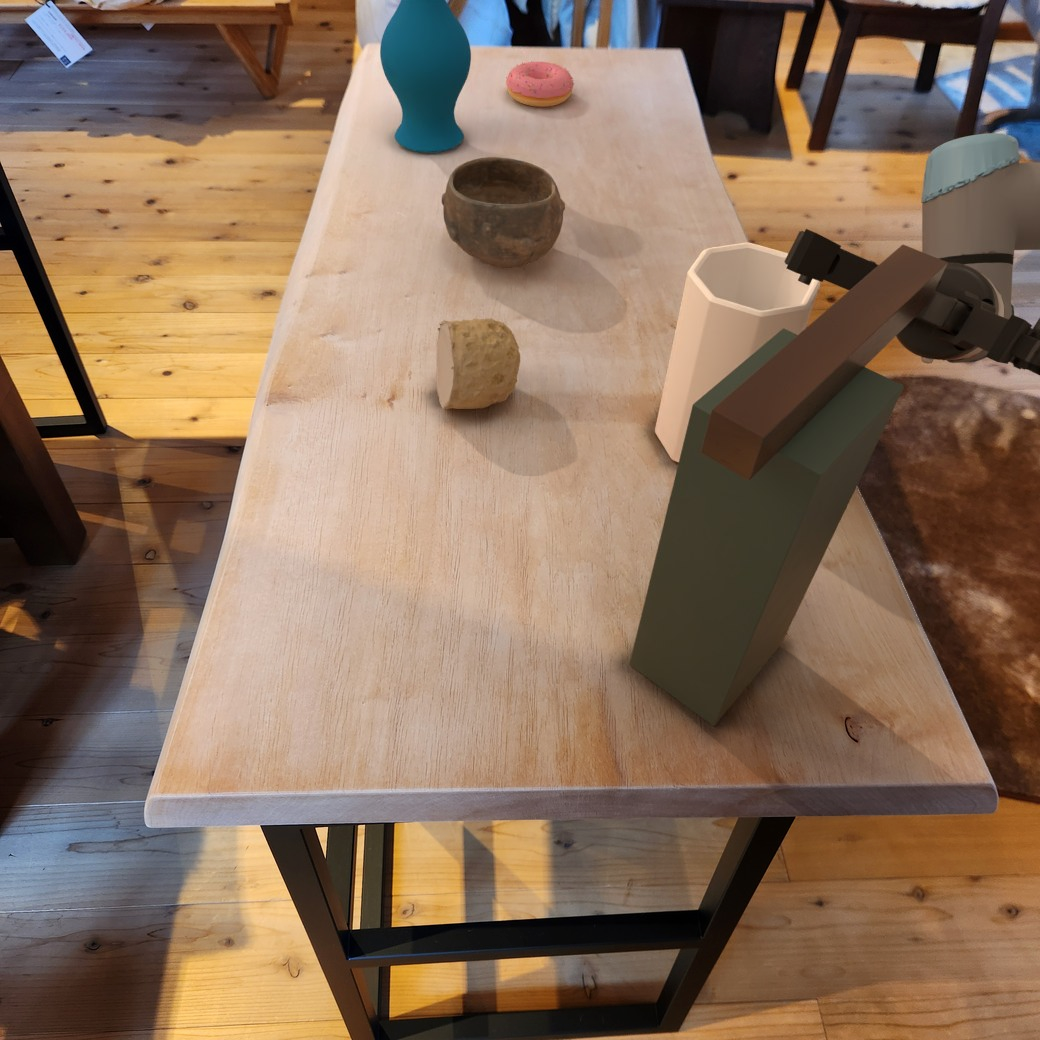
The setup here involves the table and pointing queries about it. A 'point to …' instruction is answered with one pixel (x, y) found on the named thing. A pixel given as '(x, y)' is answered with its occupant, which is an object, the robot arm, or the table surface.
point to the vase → (426, 72)
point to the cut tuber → (475, 363)
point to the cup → (726, 325)
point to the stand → (749, 541)
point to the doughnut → (539, 84)
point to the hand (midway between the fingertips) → (897, 292)
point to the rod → (819, 362)
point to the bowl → (502, 211)
